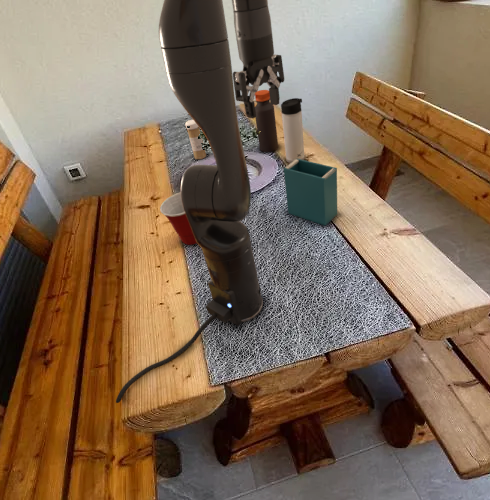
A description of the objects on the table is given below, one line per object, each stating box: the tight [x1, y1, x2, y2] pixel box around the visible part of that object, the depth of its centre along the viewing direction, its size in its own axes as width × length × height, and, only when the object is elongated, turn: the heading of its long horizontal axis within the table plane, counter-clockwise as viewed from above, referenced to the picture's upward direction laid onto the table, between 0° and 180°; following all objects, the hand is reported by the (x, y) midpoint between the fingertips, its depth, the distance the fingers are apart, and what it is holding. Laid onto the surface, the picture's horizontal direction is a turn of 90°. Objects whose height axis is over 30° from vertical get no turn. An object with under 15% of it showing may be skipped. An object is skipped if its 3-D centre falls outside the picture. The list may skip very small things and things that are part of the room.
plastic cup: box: [159, 191, 197, 246], centre depth 101 cm, size 11×11×12 cm
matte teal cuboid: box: [283, 159, 338, 227], centre depth 102 cm, size 6×14×12 cm
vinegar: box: [254, 89, 279, 153], centre depth 135 cm, size 7×7×20 cm
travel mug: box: [280, 97, 306, 164], centre depth 125 cm, size 6×7×20 cm
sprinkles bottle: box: [184, 119, 207, 160], centre depth 139 cm, size 5×5×13 cm
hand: (263, 110), depth 90 cm, fingers open, 8 cm apart
